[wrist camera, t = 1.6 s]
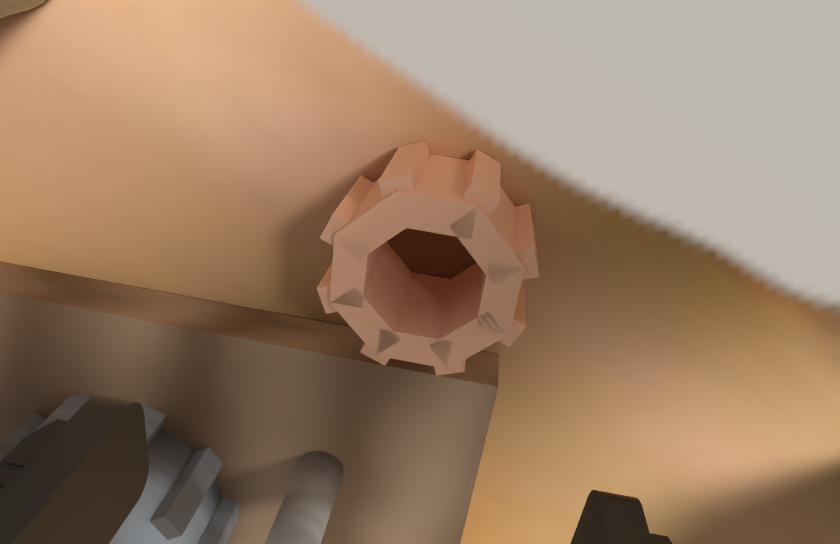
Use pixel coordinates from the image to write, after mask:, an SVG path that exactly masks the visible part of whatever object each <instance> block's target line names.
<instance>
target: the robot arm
mask: <svg viewBox="0 0 840 544" xmlns="http://www.w3.org/2000/svg"><path fill="white" fill-rule="evenodd" d="M148 472H149V460H148V449H147V438H146V428H145V417H144V409H143V407H142V405H141V404H140V403H137V402H132V401H126V400H121V399H116V398H110V397H105V396H100V395H97V396H94V397H92V398H90V399H89V400H88V401H87V402H86V403H85V404H84V405H83V406H82V407H81V408H80V409H79V410H78V411H77V412H76V413H75V414H74V415H73V416H72V417H71V419H70V420H69V421H65V420H60V419H56V420H54V421H52V422H51V423H49V424H47V425H45V426H44V427H42V428H40V429H38V430H36V431H35V432H33V433H31V434H29V435H28V436H26V437H24V438H23V439H22V440H21V441H20V442H19V443H18V444H17V445H16V446H15V447H14V448H13V449H12V450H11V451H10V452H9V453H8V454H7V455H6V456H5V457H4V458H3V459H2V460H1V461H0V544H109V543H110V542H111V540H112V539H113V537H114V536H115V534H116V533H117V531H118V530H119V528H120V527H121V525H122V524H123V523H124V521H125V520H126V518H127V517H128V515H129V514H130V512H131V511H132V509H133V508H134V506H135V505H136V503H137V502H138V500H139V499H140V497H141V495H142V492H143V490H144V488H145V485H146V481H147V477H148ZM571 544H672V542H671V541H670V539H669V538H668V537H667V536H661V535H656V534H651V533H649V530H648V526H647V523H646V519H645V515H644V512H643V508H642V505H641V503H640V501H639V500H638V499H637V498H634V497H629V496H624V495H619V494H613V493H608V492H603V491H597V490H592V491H591V492H590V494H589V496H588V498H587V501H586V504H585V506H584V509H583V512H582V514H581V517H580V520H579V523H578V525H577V528H576V531H575V533H574V536H573V539H572V542H571Z"/></svg>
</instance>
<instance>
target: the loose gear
mask: <svg viewBox="0 0 840 544" xmlns="http://www.w3.org/2000/svg"><path fill="white" fill-rule="evenodd" d="M500 175H501V163H499V162H498V161H496V160H494V159H493V158H491V157H490V156H488V155H486V154H485V153H483V152H482V151H480V150H478V149H477V150H476V151H475V153H474V154H473V156H472V157H471V159H470V160H464V159H458V158H452V157H446V156H440V155H434V154H429V150H428V146H427V142H426V140H425V141H421V142H416V143H412V144H408V145H403V146H399V148H398V149H397V151H396V153H395V154H394V156H393V157H392V159H391V161H390V162H389V164H388V166H387V167H386V169H385V170H384V172H383V174H382V175H381V177H380V178H379V179H377V180H376V181H375V182H372V181H370V180H368V179H367V178H365V177H363V176H362V175H360V177H359V178H358V179H357V181H356V182H355V184H354V185H353V186H352V188H351V189H350V191H349V192H348V193H347V195H346V196H345V197H344V199H343V200H342V202H341V203H340V204H339V206H338V207H337V209H336V210H335V211H334V213H333V214H332V216H331V218H330V220H329V222H328V223H327V225H326V227H325V229H324V231H323V233H322V234H321V236H320V239H321V240H323V241H325V242H327V243H328V244H330V245H332V246H333V260H332V263H331V265H330V266H329V268H328V270H327V271H326V273H325V275H324V276H323V278H322V280H321V281H320V283H319V285H318V286H317V288H316V289H317V291H318V294H319V297H320V299H321V302H322V305H323V307H324V310H325V313H326V314H328V313H334V312H338V313H339V314H340V315H341V316H342V317H343V319H344V320H345V321H346V322H347V323H348V324H349V325H350V327H351V328H352V329H353V330H354V331H355V332H356V333H357V334H358V336H359V337H360V338H361V339H362V340H363V341H364V343H363V346H362V348H361V351H360V352H361V353H363V354H364V355H366V356H368V357H370V358H372V359H373V360H375V361H377V362H379V363H381V364H382V365H384V366H385V365H386V364H387V362H388V361H389V359H390V358H392V359H397V360H403V361H408V362H413V363H419V364H424V365H429V366H434V369H435V372H436V375H445V374H452V373H459V372H465V363H466V359H467V358H468V357H470V356H472V355H474V354H476V353H478V352H479V351H481V350H483V349H485V348H487V347H489V346H490V345H492V344H494V343H496V342H498V341H499V342H500V343H502V344H504V345H506V346H507V347H509V348H510V346H511V345H512V344H513V343H514V341H515V340H516V339H517V338H518V337H519V335H520V334H521V333H522V332H523V331H524V329H525V328H526V327H527V323H526V304H525V286H524V280H526V279H532V278H538V277H539V270H538V260H537V251H536V241H535V231H534V225H533V220H532V215H531V210H530V205H529V204H525V205H520V206H514V204H513V203H512V202H511V200H510V199H509V197H508V196H507V195H506V193H505V192H504V190H503V189H502V188H501V186H500ZM406 228H409V229H415V230H421V231H426V232H432V233H438V234H444V235H449V236H455V237H458V239H459V240H460V241H461V243H462V244H463V245H464V247H465V248H466V249H467V251H468V252H469V253H470V254H471V256H472V257H473V258H474V260H475V261H476V262H477V263H475V264H474V265H472V266H470V267H469V268H467V269H466V270H464V271H462V272H461V273H459V274H457V275H456V276H454V277H452V278H451V279H448V278H443V277H437V276H431V275H426V274H420V273H415V272H411V271H410V269H409V268H408V267H407V266H406V264H405V263H404V262H403V261H402V260H401V258H400V257H399V256H398V255H397V253H396V252H395V251H394V250H393V248H392V247H391V246H390V245H389V244H388V240H389V239H391V238H392V237H394V236H395V235H397V234H398V233H400V232H401V231H403V230H404V229H406Z"/></svg>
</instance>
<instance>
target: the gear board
mask: <svg viewBox="0 0 840 544" xmlns="http://www.w3.org/2000/svg"><path fill="white" fill-rule="evenodd" d="M363 343H364V341H363V340H362V339H361V338H360V337H359V336H358V334H357V333H356V332H355V331H354V330H353V329H352V328H351V327H349V326H343V325H338V324H333V323H327V322H322V321H316V320H311V319H306V318H300V317H295V316H289V315H284V314H279V313H273V312H268V311H262V310H257V309H252V308H246V307H241V306H235V305H230V304H225V303H219V302H214V301H208V300H203V299H198V298H192V297H187V296H181V295H176V294H171V293H165V292H160V291H154V290H149V289H144V288H138V287H133V286H127V285H122V284H117V283H111V282H106V281H100V280H95V279H90V278H84V277H79V276H73V275H68V274H63V273H57V272H52V271H46V270H41V269H36V268H30V267H25V266H19V265H14V264H9V263H3V262H0V461H1V460H2V459H3V458H4V457H5V456H6V455H7V454H8V453H9V452H10V451H11V450H12V449H13V448H14V447H15V446H16V445H17V444H18V443H19V442H20V441H21V440H22V439H23V438H24V437H26V436H28V435H29V434H31V433H33V432H35V431H36V430H38V429H40V428H42V427H44V426H45V425H47V424H49V423H51V422H52V421H54V420H56V419H60V420H65V421H69V420H70V419H71V417H72V416H73V415H74V414H75V413H76V412H77V411H78V410H79V409H80V408H81V407H82V406H83V405H84V404H85V403H86V402H87V401H88V400H89V399H90V398H92V397H94V396H97V395H100V396H105V397H110V398H116V399H121V400H126V401H132V402H137V403H140V404H141V405H142V407H143V409H144V417H145V428H146V438H147V449H148V460H149V472H148V477H147V481H146V485H145V488H144V490H143V492H142V495H141V497H140V499H139V500H138V502H137V503H136V505H135V506H134V508H133V509H132V511H131V512H130V514H129V515H128V517H127V518H126V520H125V521H124V523H123V524H122V525H121V527H120V528H119V530H118V531H117V533H116V534H115V536H114V537H113V539H112V540H111V542H110V543H109V544H460V541H461V537H462V533H463V529H464V525H465V521H466V517H467V512H468V508H469V504H470V500H471V496H472V492H473V488H474V483H475V479H476V475H477V471H478V467H479V463H480V459H481V454H482V450H483V446H484V442H485V438H486V434H487V430H488V425H489V421H490V417H491V413H492V409H493V405H494V401H495V396H496V392H497V388H498V359H499V354H495V353H489V352H484V351H479V352H478V353H476V354H474V355H472V356H470V357H468V358H467V359H466V363H465V372H459V373H452V374H445V375H436V372H435V369H434V366H429V365H424V364H419V363H413V362H408V361H403V360H397V359H392V358H390V359H389V361H388V362H387V364H386V365H385V366H384V365H382V364H381V363H379V362H377V361H375V360H373V359H372V358H370V357H368V356H366V355H364V354H363V353H361V352H360V351H361V348H362V346H363Z"/></svg>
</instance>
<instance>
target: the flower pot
mask: <svg viewBox="0 0 840 544" xmlns="http://www.w3.org/2000/svg"><path fill="white" fill-rule="evenodd" d="M45 1H46V0H0V18H3V17H6V16H9V15H12V14H16V13H20V12H24V11H28V10H30V9H33V8H35V7H37V6H39V5H41V4H42V3H44V2H45Z"/></svg>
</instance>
